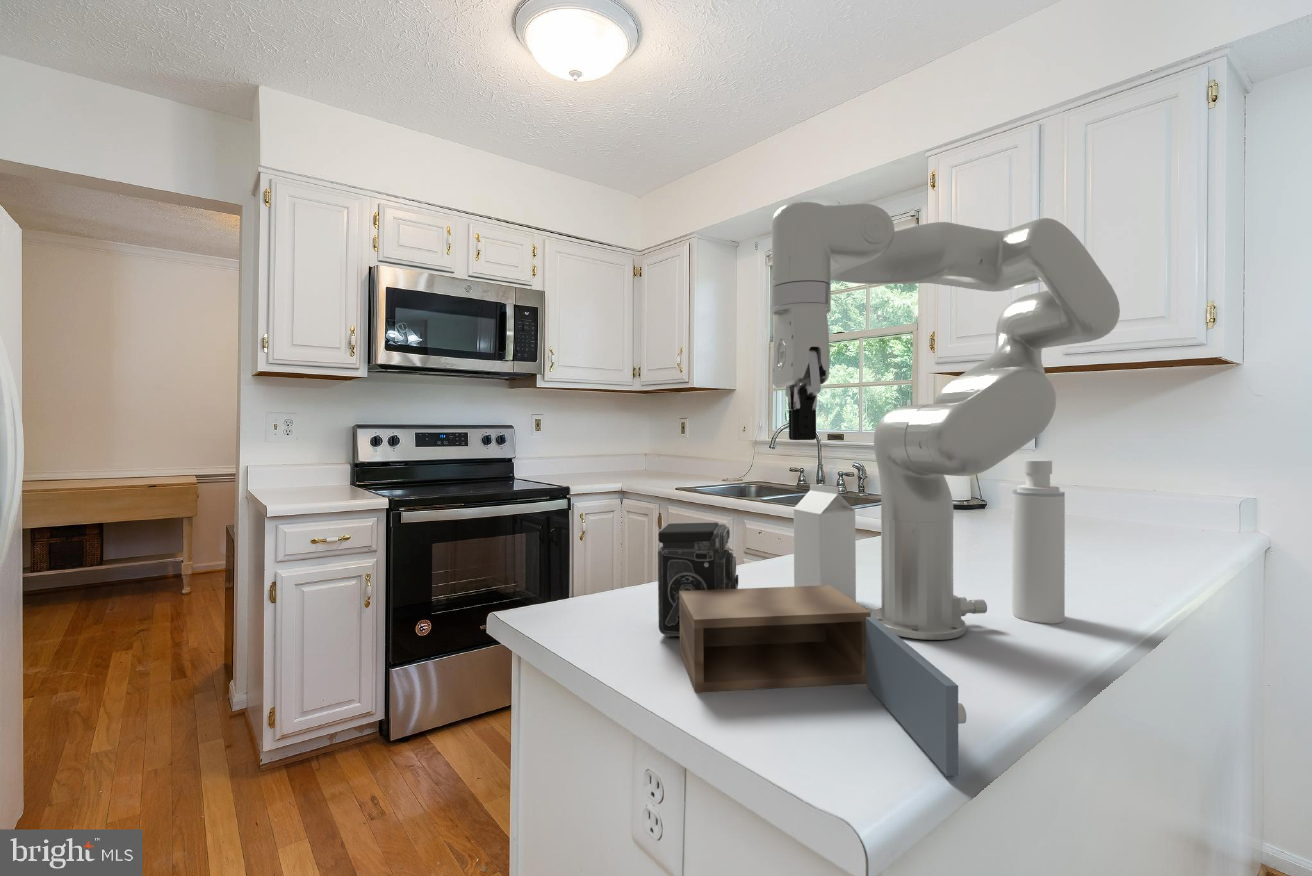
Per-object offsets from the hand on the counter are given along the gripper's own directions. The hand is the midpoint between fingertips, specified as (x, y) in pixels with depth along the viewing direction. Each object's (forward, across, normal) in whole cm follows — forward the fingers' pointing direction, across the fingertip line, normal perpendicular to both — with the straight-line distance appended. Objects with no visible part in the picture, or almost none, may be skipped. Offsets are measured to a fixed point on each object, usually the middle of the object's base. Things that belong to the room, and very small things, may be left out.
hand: (802, 439), depth 84 cm
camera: (+27, -6, -13) cm, 31 cm away
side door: (+27, +24, +2) cm, 36 cm away
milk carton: (+27, -19, +10) cm, 35 cm away
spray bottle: (+27, -6, +38) cm, 47 cm away
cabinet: (+27, +8, -7) cm, 29 cm away
